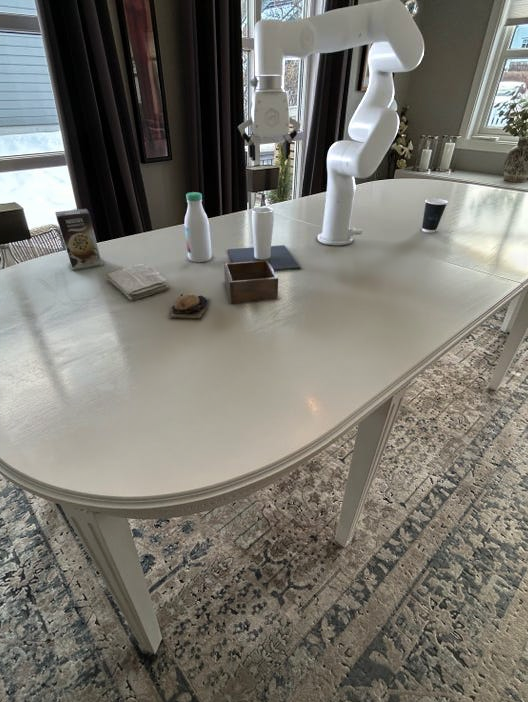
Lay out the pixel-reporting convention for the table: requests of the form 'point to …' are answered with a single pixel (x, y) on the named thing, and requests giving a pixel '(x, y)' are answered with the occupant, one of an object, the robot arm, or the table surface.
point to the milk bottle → (197, 229)
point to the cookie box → (79, 238)
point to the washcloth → (138, 281)
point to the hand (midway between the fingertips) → (269, 159)
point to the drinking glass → (262, 231)
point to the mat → (277, 260)
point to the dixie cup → (433, 214)
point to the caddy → (250, 281)
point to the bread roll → (189, 306)
